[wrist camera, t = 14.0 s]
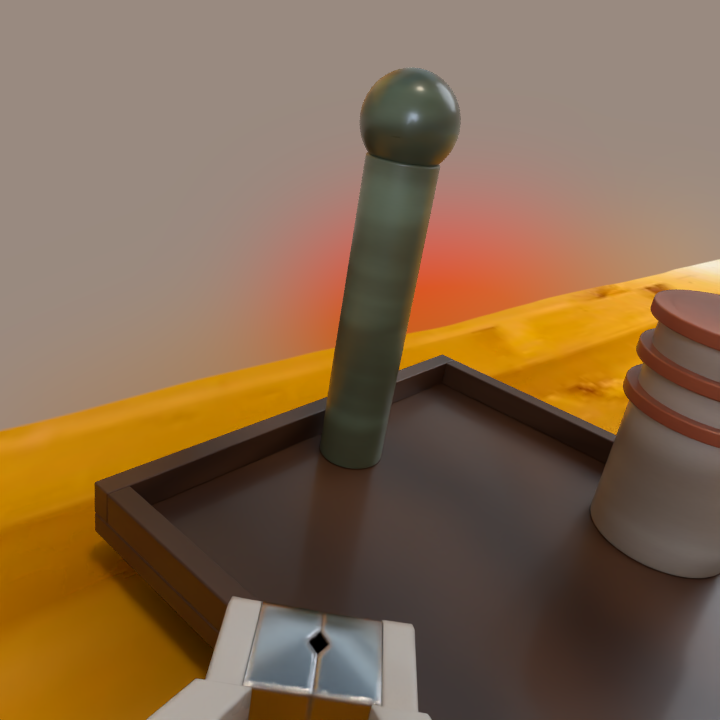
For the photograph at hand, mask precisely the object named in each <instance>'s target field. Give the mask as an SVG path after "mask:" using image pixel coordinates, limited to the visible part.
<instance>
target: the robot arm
mask: <svg viewBox="0 0 720 720" xmlns="http://www.w3.org/2000/svg"><path fill="white" fill-rule="evenodd" d="M146 720H432V719H431V718H430V716H429V715H428V714H426V713H421V712H418V694H417V672H416V650H415V629H414V627H413V625H412V624H408V623H401V622H394V621H387V620H382V621H381V620H379V619H373V618H366V617H359V616H352V615H345V614H338V613H331V612H324V611H322V612H321V611H315V610H310V609H304V608H299V607H293V606H288V605H282V604H277V603H271V602H266V601H263V602H262V601H256V600H251V599H245V598H240V597H235V596H232V598H231V600H230V601H229V603H228V606H227V609H226V613H225V616H224V619H223V622H222V626H221V629H220V632H219V636H218V639H217V642H216V645H215V649H214V652H213V655H212V659H211V662H210V665H209V668H208V672H207V675H206V678H205V680H204V679H194V680H193V681H192V682H191V683H190V684H188V685H187V686H186V687H185V688H184V689H182V690H181V691H180V692H179V693H178V694H176V695H175V696H174V697H173V698H172V699H170V700H169V701H168V702H167V703H166V704H164V705H163V706H162V707H161V708H160V709H158V710H157V711H156V712H155V713H153V714H152V715H151V716H150V717H149V718H147V719H146Z"/></svg>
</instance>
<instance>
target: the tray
mask: <svg viewBox="0 0 720 720" xmlns="http://www.w3.org/2000/svg"><path fill="white" fill-rule="evenodd" d="M460 120H461V118H460V109H459V105H458V102H457V99H456V97H455V95H454V93H453V91H452V89H451V88H450V87H449V85H448V84H447V83H446V82H445V81H444V80H443V79H441V78H440V77H439V76H437V75H436V74H434V73H432V72H430V71H427V70H424V69H420V68H403V69H398V70H395V71H393V72H391V73H389V74H387V75H385V76H384V77H382V78H381V79H380V80H378V81H377V82H376V83H375V84H374V86H373V87H372V88H371V89H370V91H369V92H368V94H367V96H366V98H365V100H364V102H363V105H362V109H361V113H360V131H361V136H362V140H363V142H364V145H365V147H366V149H367V151H368V153H367V154H366V158H365V164H364V170H363V176H362V183H361V189H360V196H359V201H358V208H357V214H356V221H355V227H354V233H353V239H352V246H351V252H350V258H349V265H348V271H347V277H346V284H345V290H344V297H343V303H342V309H341V315H340V322H339V328H338V334H337V340H336V347H335V353H334V359H333V366H332V372H331V378H330V385H329V391H328V397H326V398H323V399H320V400H318V401H315V402H312V403H309V404H307V405H304V406H301V407H298V408H296V409H293V410H290V411H288V412H285V413H282V414H279V415H277V416H274V417H271V418H269V419H266V420H263V421H260V422H258V423H255V424H252V425H249V426H247V427H244V428H241V429H239V430H236V431H233V432H230V433H228V434H225V435H222V436H220V437H217V438H214V439H211V440H209V441H206V442H203V443H200V444H198V445H195V446H192V447H190V448H187V449H184V450H181V451H179V452H176V453H173V454H170V455H168V456H165V457H162V458H160V459H157V460H154V461H151V462H149V463H146V464H143V465H141V466H138V467H135V468H132V469H130V470H127V471H124V472H121V473H119V474H116V475H113V476H111V477H108V478H105V479H102V480H100V481H97V482H95V512H96V513H95V530H96V532H97V533H98V534H99V535H100V536H101V537H102V538H103V539H104V540H105V541H106V542H107V543H108V544H109V545H110V546H111V547H112V548H113V549H114V550H115V551H116V552H117V553H118V554H119V555H120V556H121V557H122V558H123V559H124V560H125V561H126V562H127V563H128V564H129V565H130V566H131V567H132V568H133V569H134V570H135V571H136V572H137V573H138V574H139V575H140V576H141V577H142V578H143V579H144V580H145V581H146V582H147V583H148V584H149V585H150V586H151V587H152V588H153V589H154V590H155V591H156V592H157V593H158V594H159V595H160V596H161V597H162V598H163V599H164V600H165V601H166V602H167V603H168V604H169V605H170V606H171V607H172V608H173V609H174V610H175V611H176V612H177V613H178V614H179V615H180V616H181V617H182V618H183V619H184V620H185V621H186V622H187V623H188V624H189V625H190V626H191V627H192V628H193V629H194V630H195V631H196V632H197V633H198V634H199V635H200V636H201V637H202V638H203V639H204V640H205V641H206V642H207V643H208V644H209V645H210V646H211V647H212V648H213V649H215V645H216V642H217V639H218V636H219V632H220V629H221V626H222V622H223V619H224V616H225V613H226V609H227V606H228V603H229V601H230V600H231V598H232V596H235V597H240V598H245V599H251V600H256V601H262V602H263V601H266V602H271V603H277V604H282V605H288V606H293V607H299V608H304V609H310V610H315V611H321V612H322V611H324V612H331V613H338V614H345V615H352V616H359V617H366V618H373V619H379V620H381V621H382V620H387V621H394V622H401V623H408V624H412V625H413V627H414V629H415V650H416V672H417V694H418V712H421V713H426V714H428V715H429V716H430V718H431V719H432V720H720V295H718V294H712V293H706V292H700V291H691V290H666V291H661V292H659V293H657V294H656V295H655V297H654V299H653V302H652V305H651V312H652V314H653V316H654V317H655V318H656V319H657V320H658V324H657V326H656V328H655V329H650V330H647V331H645V332H644V333H642V334H641V336H640V338H639V341H638V344H637V348H636V351H637V354H638V356H639V357H640V359H641V360H642V361H643V364H640V365H636V366H634V367H632V368H631V369H630V370H629V371H628V372H627V374H626V377H625V380H624V383H623V389H624V392H625V394H626V396H627V398H628V399H629V402H628V405H627V408H626V410H625V413H624V416H623V419H622V421H621V424H620V427H619V429H618V432H617V435H614V434H612V433H610V432H608V431H605V430H603V429H601V428H599V427H597V426H595V425H593V424H590V423H588V422H586V421H584V420H582V419H580V418H577V417H575V416H573V415H571V414H569V413H567V412H565V411H562V410H560V409H558V408H556V407H554V406H552V405H549V404H547V403H545V402H543V401H541V400H539V399H537V398H534V397H532V396H530V395H528V394H526V393H524V392H522V391H519V390H517V389H515V388H513V387H511V386H509V385H506V384H504V383H502V382H500V381H498V380H496V379H494V378H491V377H489V376H487V375H485V374H483V373H481V372H478V371H476V370H474V369H472V368H470V367H468V366H466V365H463V364H461V363H459V362H457V361H454V360H453V359H451V358H448V357H446V356H444V355H440V356H437V357H435V358H432V359H429V360H427V361H424V362H421V363H418V364H416V365H413V366H410V367H407V368H405V369H402V370H399V366H400V361H401V356H402V351H403V346H404V341H405V336H406V331H407V326H408V322H409V317H410V312H411V306H412V302H413V297H414V292H415V287H416V282H417V277H418V272H419V267H420V263H421V258H422V252H423V248H424V243H425V238H426V233H427V228H428V223H429V219H430V214H431V208H432V203H433V199H434V194H435V189H436V184H437V179H438V174H439V169H440V166H439V164H440V163H441V162H442V161H443V160H444V159H445V158H446V157H447V156H448V155H449V153H450V152H451V151H452V149H453V147H454V145H455V143H456V141H457V138H458V135H459V131H460Z"/></svg>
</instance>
